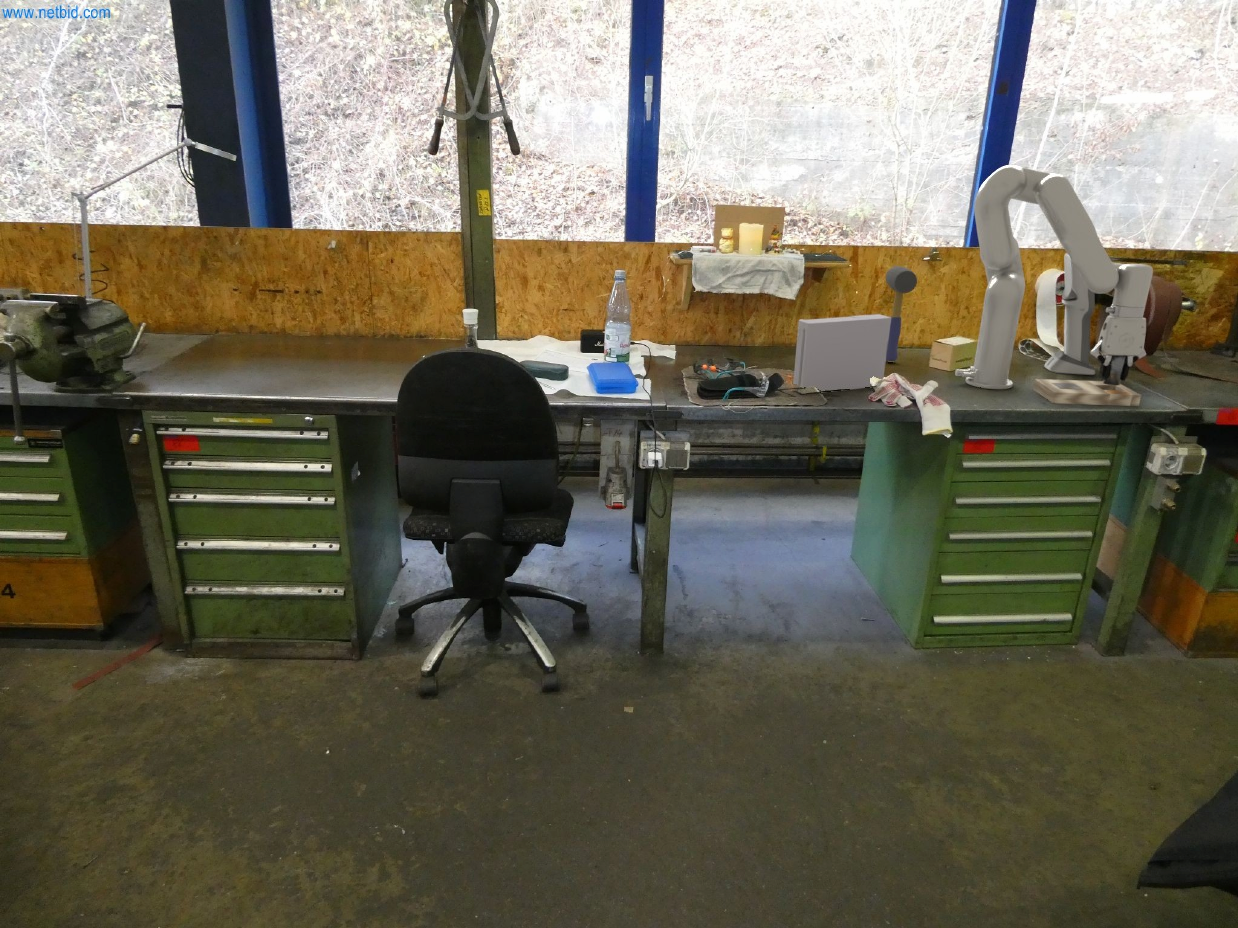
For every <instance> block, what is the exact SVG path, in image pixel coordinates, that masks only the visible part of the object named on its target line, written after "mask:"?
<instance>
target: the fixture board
mask: <svg viewBox="0 0 1238 928" xmlns="http://www.w3.org/2000/svg"><path fill="white" fill-rule="evenodd" d="M1032 390H1033V391H1035V392H1036V393H1037V394H1039V395H1041V396H1042V397H1043V398H1044V399H1046V400H1047V399H1048V400H1047V401H1048V402H1050V403H1052V404H1068V405H1069V404H1070V405H1071V404H1072V405H1093V406H1094V405H1095V406H1097V405H1098V406H1122V407H1123V406H1125V407H1126V406H1127V407H1139V406H1140V401H1141V398H1142V394H1140V393H1139V392H1138V393H1137V392H1136V391H1134V390H1133V389H1131V388H1129V387H1128V386H1125V385H1123V384H1122V383H1120V385H1108V384H1104V383H1103V380H1077V379H1076V380H1074V379H1050V378H1049V379H1046V378H1034V382H1033V387H1032Z"/></svg>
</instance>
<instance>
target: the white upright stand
mask: <svg viewBox="0 0 1238 928" xmlns="http://www.w3.org/2000/svg"><path fill="white" fill-rule="evenodd" d="M1063 258H1064V259H1063V261H1064V290H1063V293H1062V295H1061V298H1062V299H1061V303H1062V304H1064V306H1065V307H1064V308H1065V309H1064V321H1063V322H1064V323H1063V350H1058V351H1057V352H1055V353H1054V354H1053V355H1051V356H1050V357H1049V358H1048V359H1047V360H1046V361H1045V364H1043V367H1044V368H1045V369H1046V370H1047V371H1049V372H1052V373H1055V374H1062V375H1064V374H1066V375H1081V376H1094V375H1096V370H1095V369H1096V368H1095V367H1094V366H1093V365H1091V364H1090V356H1091V355H1090V351H1091V318H1092V315H1093V314H1094V313H1095V308H1096V306H1095V305H1096V304H1095V303H1096V301H1095V295H1096V294H1095V293H1094V292H1092V291H1090V290H1089V289H1088V288H1087V286H1086V284H1085V283H1084V281H1083V279H1082V277H1081V276H1080V274H1079V272H1078V270H1077V269H1076V267H1075V265H1074V263H1073V261H1072V260H1071V258H1070V256H1069V255H1068V253H1067V252H1066V253H1064V257H1063Z"/></svg>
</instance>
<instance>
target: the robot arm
mask: <svg viewBox="0 0 1238 928" xmlns="http://www.w3.org/2000/svg"><path fill="white" fill-rule="evenodd" d="M1011 200H1017V201H1019V202H1025V203H1030V204H1034V205H1038V206H1039V208H1040V209H1041V211H1042V213H1043V215H1044V216H1045V218H1046V220H1047V221H1048V223H1049V225H1050V227H1051V229H1052V230H1053V232H1054V234H1055V235H1056V238H1057V239H1058V241H1059V243H1060V244H1061V245H1060V246H1062V248H1063V249H1064V250H1065V251H1066V253H1068V255H1069V256H1070V258H1071V260H1072V261H1073V263H1074V265H1075V267H1076V269H1077V270H1078V272H1079V274H1080V276H1081V277H1082V279H1083V281H1084V283H1085V284H1086V286H1087V288H1088V289H1089V290H1090V291H1092V292H1094V294H1100V295H1101V294H1106V293H1110V292H1111V291H1113V290H1114V294H1113V295H1114V296H1113V299H1112V304H1111V305H1110V306H1109V307H1106V309H1105V312H1106V313H1109V315H1107V316H1106V318H1105V320H1104V322H1103V325H1102V327H1101V330H1100V333H1099V337H1098V340H1097V344H1095V346H1093V348H1092V349H1090V354H1091V355H1092V356H1093V357H1094V358H1096V360H1098V362H1099V364H1100V367H1099V372H1098V375H1099V378H1100V379H1101V380H1102V381H1103V380H1107V379H1108V375H1109V370H1110V366H1109V362H1110V360H1111V357H1112V355H1113V356H1126V359H1125V364H1124V368H1123V373H1122V377H1121V381H1122V382H1123V381H1124V382H1125V381H1126V380H1127V377H1128V375H1129V371H1130V367H1132V366H1133V364H1134V363H1136V362H1137V361H1139V359H1142V358H1144V357H1146V356H1147V353H1146V350H1145V340H1146V333H1147V318H1146V317H1144V315H1145V313H1144V312H1145V310H1146V305H1147V301H1148V295H1149V292H1150V288H1151V282H1152V279H1153V275H1154V269H1153V267H1152V266H1151V265H1148V264H1144V263H1143V264H1142V263H1126V264H1125V263H1118V262H1113V261H1112V260H1111V258H1110V257H1109V255H1108V252H1107V251H1106V249H1105V247H1104V245H1103V244H1102V241H1101V240H1100V237H1099V235H1098V233H1097V230H1096V227H1095V224H1094V223H1093V220H1092V218H1091V217H1090V216H1089V214H1088V212H1087V210H1086V209H1085V207H1084V205H1083V203H1082V202H1081V200H1080V198H1079V196H1078V195H1077V193H1076V190H1074V188H1073V186H1072V183H1071V182H1070V181H1069V179H1068V178H1067V177H1066V176H1064V175H1063V174H1058V173H1052V172H1051V173H1050V172H1046V171H1041V170H1036V169H1031V168H1027V167H1023V166H1018V165H1013V164H1012V165H1011V164H1010V165H1009V164H1008V165H1004V166H1001V167H999V168H998V169H996V170H995V171H994V172H992V173H991V175H990V176H988V177H987V178H986V179H985V181H983V183H982V184H981V185H980V187H979V189H978V191H977V192H976V196H975V201H974V207H973V208H974V209H973V211H974V218H975V225H976V233H977V239H978V244H979V245H978V246H979V253H980V254H979V256H980V260H981V262H982V263H983V265H984V270H985V276H986V280H987V287H986V289H985V294H984V299H983V308H982V313H981V319H980V320H981V321H980V326H979V333H978V338H977V339H978V340H977V345H976V352H975V355H974V357H975V358H974V363H973V365H970V366H969V368H967V369H963V368H962V369H961V368H956V369H955V371H954V372H955V373H954V375H955V376H957V377H958V376H959V377H960V376H961V377H962V378H965V383H966V384H968V385H970V386H973V387H976V388H980V387H981V388H980V389H986V390H987V389H988V390H1008V389H1010V388H1012V387H1013V385H1014V383H1013V382H1014V381H1012V380H1010V379H1009V373H1010V370H1011V369H1010V368H1011V363H1012V357H1013V351H1014V346H1015V341H1016V337H1017V331H1018V324H1019V319H1020V314H1021V308H1022V304H1023V299H1024V296H1025V295H1024V294H1025V290H1026V281H1025V275H1024V269H1023V264H1022V258H1021V251H1020V247H1019V243H1018V241H1017V239H1016V238H1015V236H1014V235H1013V234H1014V233H1013V230H1012V229H1013V228H1012V224H1011V216H1010V211H1009V205H1010V202H1011ZM1100 353H1102V354H1100Z"/></svg>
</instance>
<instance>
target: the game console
mask: <svg viewBox="0 0 1238 928" xmlns="http://www.w3.org/2000/svg"><path fill="white" fill-rule="evenodd" d="M891 317H892V316H886V315H884V314H883V315H882V314H879V313H876V314H865V315H863V314H862V315H851V316H844V317H843V316H841V317H827V318H826V317H825V318H814V319H811V318H810V319H799V320H798V325H797V333H796V337H797V338H796V345H795V346H796V349H795V360H794V371H793V372H794V373H793V374H794V375H793V381H792V384H793V383H794V384H797V385H798V386H800V387H802V388H804V387H809V386H814V387H817V389H819V390H821V391H825V390H837V389H850V390H858V389H866V388H865V387H870V378H872V377H873V376H874V377H876V378H879V379H882V380H883V379H884V377H885V368H886V363H887V362H886V355H887V347H888V339H889V331H890V324H891ZM870 388H871V387H870Z"/></svg>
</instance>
